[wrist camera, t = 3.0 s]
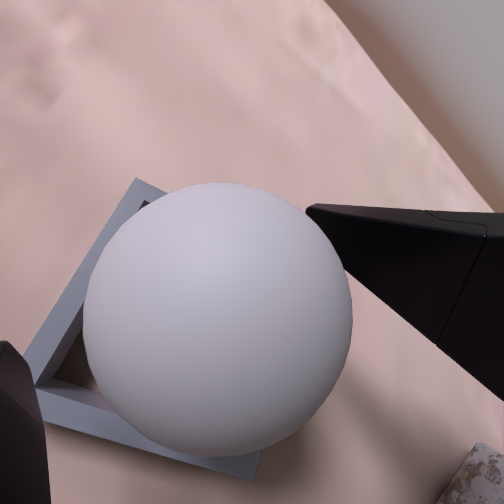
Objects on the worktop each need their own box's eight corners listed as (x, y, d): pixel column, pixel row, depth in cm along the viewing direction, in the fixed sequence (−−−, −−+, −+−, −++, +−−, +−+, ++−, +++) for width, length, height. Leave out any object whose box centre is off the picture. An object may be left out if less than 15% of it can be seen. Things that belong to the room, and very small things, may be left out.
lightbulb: (108, 271, 14) (24, 105, 4) (228, 256, 16) (367, 128, 6) (123, 407, 13) (56, 673, 3) (251, 368, 15) (469, 432, 5)
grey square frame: (234, 457, 14) (253, 481, 11) (20, 391, 11) (-9, 405, 9) (290, 275, 17) (313, 266, 15) (136, 201, 15) (135, 177, 13)
